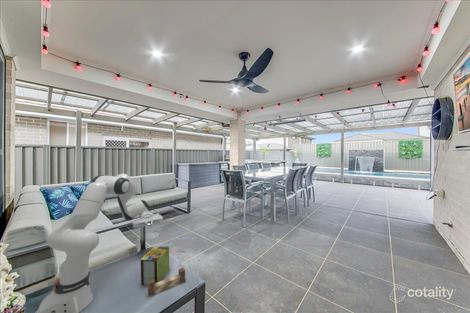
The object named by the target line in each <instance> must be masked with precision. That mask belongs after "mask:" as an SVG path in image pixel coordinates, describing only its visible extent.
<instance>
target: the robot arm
mask: <svg viewBox="0 0 470 313" xmlns="http://www.w3.org/2000/svg"><path fill="white" fill-rule="evenodd" d="M137 190H138V187H137V185H136V183H135V181H134V180H133V178H132V177H131V176H130V175H128V174H127V173H119V174H117V175H104V174H103V175H102V174H101V175H97V176H95V177H93V178H92V180H91V181H90V183H89V184H88V185H87V186H86V188H85V189H84V191H83V192H82V194H81V195H80V198H79V199H78V201H77V203H76V205H75V207H74V209H73V211H72V212H71V214H70V216H69V217H68V218H67V219H66V220H65V222H64V223H62V224H61V226H59V227H58V228H56V229H55V230H53V231H52V232H50V234H48V237H47V240H46V244H47V246H48V247H50V248H51V249H53V250H54V251H59V252H64V253H65V254H66V256H65V260H64V261H63V262H62V263H60V266H59V267H58V268H59V270H58V274H59V275H58V276H59V278H56V279H55V281H54V286H53V290H52V291H51V292H50V293H49V294H48V295H47V296H45V297H44V298H43V300H42V301H41V302H40V304H39V307H38V309H37V310H36V311H35V312H34V313H80V312H82V311H83V310H84V309H85V308H87V307H88V306H89V305H90V304H91V303H92V302H93V299H94V294H93V293H92V289H91V287H90V286H91V285H90V284H91V274H90V271H89V267H90V266H89V261H90V260H89V259H90V255H91V253H92V252H93V251H94V250H95V249H96V248H97V247H98V245H99V243H100V235H99V234H98V232H95V231H93V230H91V229H86V227H88V225H89V224H90V223H91V222H93V221H95V220H96V219H97V218H98V216H99V214H100V212H101V209H102V207H103V205H104V202H105V199H106V197H107V195H117V197H116V200H117V203H118V206H119V209H120V211H121V215H122V217H123V219H124V220H125V221H132V220H133V219H134V220H133V221H132V222H131V225H132V228H133V229H137V228H142V227H152V226H153V225H156V224H162V223H163V222H164V217H163V216H162V215H161V214H160V213H159V212H151V211H150V210H151V207H150V205H149V204H148V203H147V201H146V200H143V199H140V200H138V201H136V202H134V203H133V204H130V205H129V206H127V203H128V201H129V202H130V200H131V199H132V198H133V197H134V196H135V195H136V194H137ZM138 216H139V217H138ZM136 217H138V219H135V218H136Z"/></svg>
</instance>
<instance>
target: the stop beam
mask: <svg viewBox="0 0 470 313" xmlns="http://www.w3.org/2000/svg"><path fill="white" fill-rule="evenodd" d="M185 282H186V270H185V267H181V268H179V269H178V274H176V275H172V276H170V277H168V278H165V279H162V281H160V282H157V283H155V281H154V279H151V280H148V286H147V295H148V297H151V296H154V295H157V294H159V293H162V292H164V291H166V290H168V289H171V288H174V287H175V286H178V285H181V284H183V283H185Z"/></svg>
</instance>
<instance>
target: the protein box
mask: <svg viewBox="0 0 470 313" xmlns="http://www.w3.org/2000/svg"><path fill="white" fill-rule="evenodd" d="M169 271H170V246H163V245H162V246H161V245H160V246H159V245H154V246H153V247H152V248H151V249H150V250H149V251H148V252H146V253H145V255H143V257H142V258H141V259H140V285H141V286H147V287H148V280H151V279H154V281H155V283H157V282H160V281H162V280H164V278H165V276H166V275H167V273H168V272H169Z"/></svg>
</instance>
